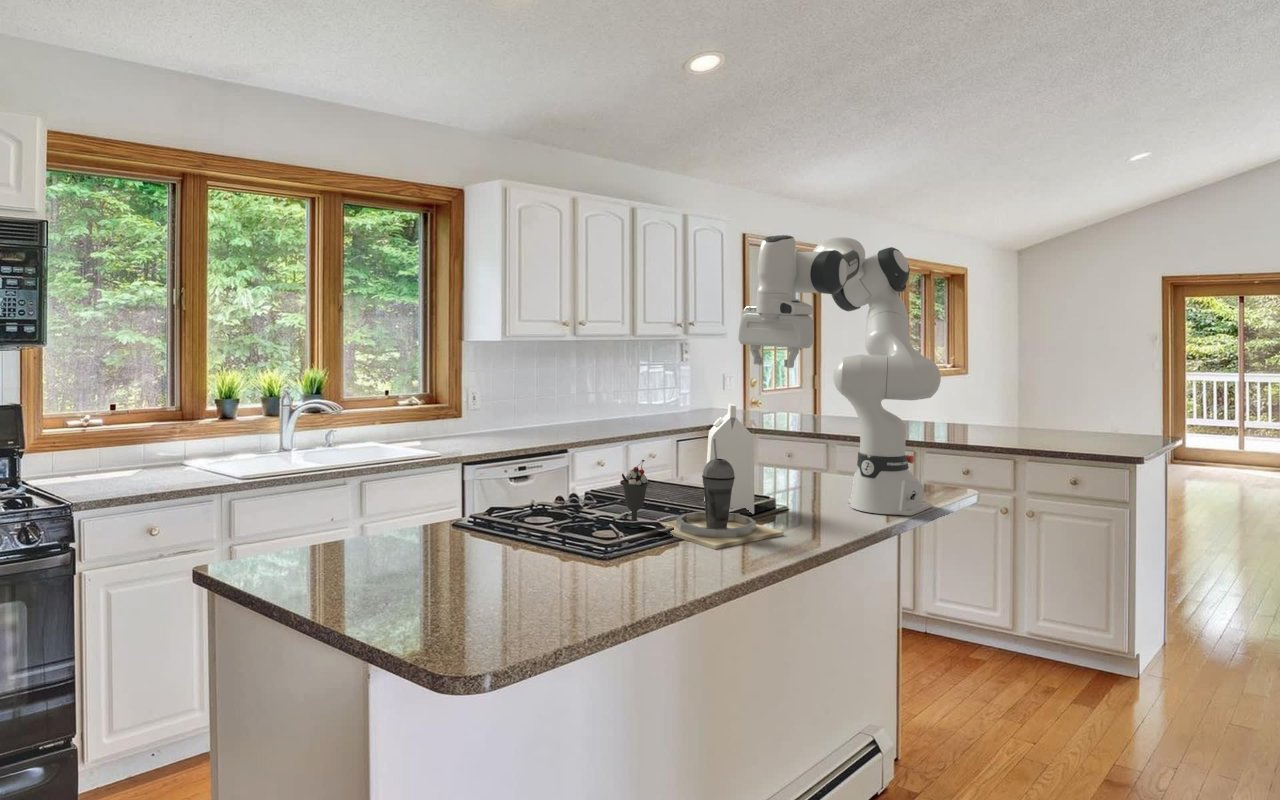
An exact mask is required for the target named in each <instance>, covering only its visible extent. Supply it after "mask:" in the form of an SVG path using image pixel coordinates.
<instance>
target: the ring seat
mask: <svg viewBox="0 0 1280 800" xmlns="http://www.w3.org/2000/svg"><path fill="white" fill-rule="evenodd" d="M661 523H662V524H664V525H667V526H672V527H674V530H672V531H670V532H671V533H672V535H673V536H672V535H671V536H672V537H675V538H679V539H682V540H685V541H688V542H691V543H694V544H696V545H700V546H704V547H706V548H710V549H714V550H718V549H723V548H728V547H731V546H738V545H741V544H748V543H752V542H753V543H754V542H757V541H761V540H762V541H763V540H767V539H770V538H776V537H782V536H784V532H785V531H783V530H779V529H776V528H772V527H769V526H765V525H761V524H757V521H756V520H755V519H753V518H752V517H750V516H747V515H744V514H740V513H729V517H728V523H727V528H721V529H715V528H706V526H707V525H706V516H705V511H693V512H689V513H688V512H686V513H682V514H681V515H678V516H677V517H676V519H675V520H670V521H664V522H661Z"/></svg>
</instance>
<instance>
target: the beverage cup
mask: <svg viewBox="0 0 1280 800" xmlns="http://www.w3.org/2000/svg"><path fill="white" fill-rule="evenodd" d="M713 443H714V455H715V459H713V460H711V461H709V462H708V463H707V462H706V464H705V466H704V468H703V471H702V475H701V478H702V485H703V490H704V491H703V492H704V494H703V495H704V496H705V504H704V512H705V516H706V525H707V526H706V528H715V529H721V528H727V523H728V517H729V509H730V501H731V492H732V487H733V483H734V479H735V476H734V470H733V468H732V466H731V464H730V463H729V462H728V461H726V460H724V459H717V450H716V439H713Z"/></svg>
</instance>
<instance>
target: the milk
mask: <svg viewBox="0 0 1280 800" xmlns="http://www.w3.org/2000/svg"><path fill="white" fill-rule="evenodd" d="M707 437H708V439H707V453H706V464H707V463H708V462H709V461H711V460H713V459H715V455H714V443H713V439H716V450H717V459H724V460H726V461H728V462H729V463H730V464H731V466H732V468H733V470H734V476H735V479H734V483H733V487H732V492H731V501H730V509H731V508H746V509H747V510H749V512H751V513H752V514H751V515H754V514H755V439H754V438H755V437H754V435H753V434H752V433H751V432H750V431H749V430H748V428H747V427H746V426H745V425H744V424H743V423H742V421H740V420H739V419H738V418H737V405H736V404H735V403H728V406H727V414H725V415H724V416H723V417H721V416H719V418H717V419H716V420H715V422H714V423H713V426H712V427H711V428H710V429H709V430H708V436H707ZM703 499H704V500H703V502H704V501H705V496H704V497H703Z"/></svg>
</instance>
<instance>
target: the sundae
mask: <svg viewBox="0 0 1280 800" xmlns="http://www.w3.org/2000/svg"><path fill="white" fill-rule="evenodd" d="M644 462H645V459H641V461H640V463H639V464H638V465H637V466H634V467H633V469H629V471H628V472H627V473H626V476H625V474H624V473H622V474H621V477H622V480H620V482H619V483H620V485H622V487H623V493H624V494H623V495H624V502H625V503H624V504H625V506H626V507H627V509H628V510H630V511H631V516H630V517H631V518H630V521H638V511H639V510H641V509H642V507H643V506H644V504H645V499H646V491H647V487H648V485H650V482H649V481H648V477H647V476H646V475H645V470H644V469H643V463H644ZM639 466H640V467H641V468H640V469H639ZM638 522H639V521H638Z"/></svg>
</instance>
